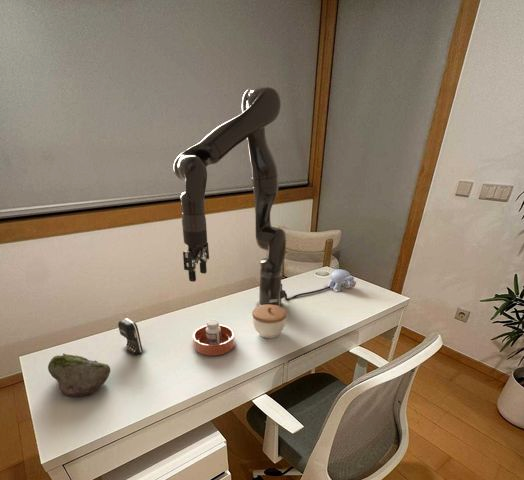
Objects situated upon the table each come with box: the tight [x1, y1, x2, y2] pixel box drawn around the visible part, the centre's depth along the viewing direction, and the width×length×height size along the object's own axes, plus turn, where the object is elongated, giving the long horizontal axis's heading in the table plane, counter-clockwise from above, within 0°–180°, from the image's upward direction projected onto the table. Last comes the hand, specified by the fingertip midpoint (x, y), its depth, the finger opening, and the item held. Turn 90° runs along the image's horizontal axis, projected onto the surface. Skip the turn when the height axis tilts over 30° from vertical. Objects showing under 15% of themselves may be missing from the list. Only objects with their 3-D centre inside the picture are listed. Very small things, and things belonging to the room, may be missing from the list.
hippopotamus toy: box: [326, 265, 357, 292], centre depth 157 cm, size 11×15×10 cm
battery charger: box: [117, 317, 144, 355], centre depth 107 cm, size 7×4×11 cm, turn 49°
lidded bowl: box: [251, 304, 288, 339], centre depth 119 cm, size 13×13×11 cm
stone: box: [47, 353, 111, 398], centre depth 94 cm, size 19×14×10 cm
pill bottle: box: [206, 319, 222, 345], centre depth 112 cm, size 5×5×9 cm
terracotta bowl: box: [192, 324, 236, 356], centre depth 113 cm, size 14×14×4 cm
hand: (198, 276), depth 111 cm, fingers open, 8 cm apart
